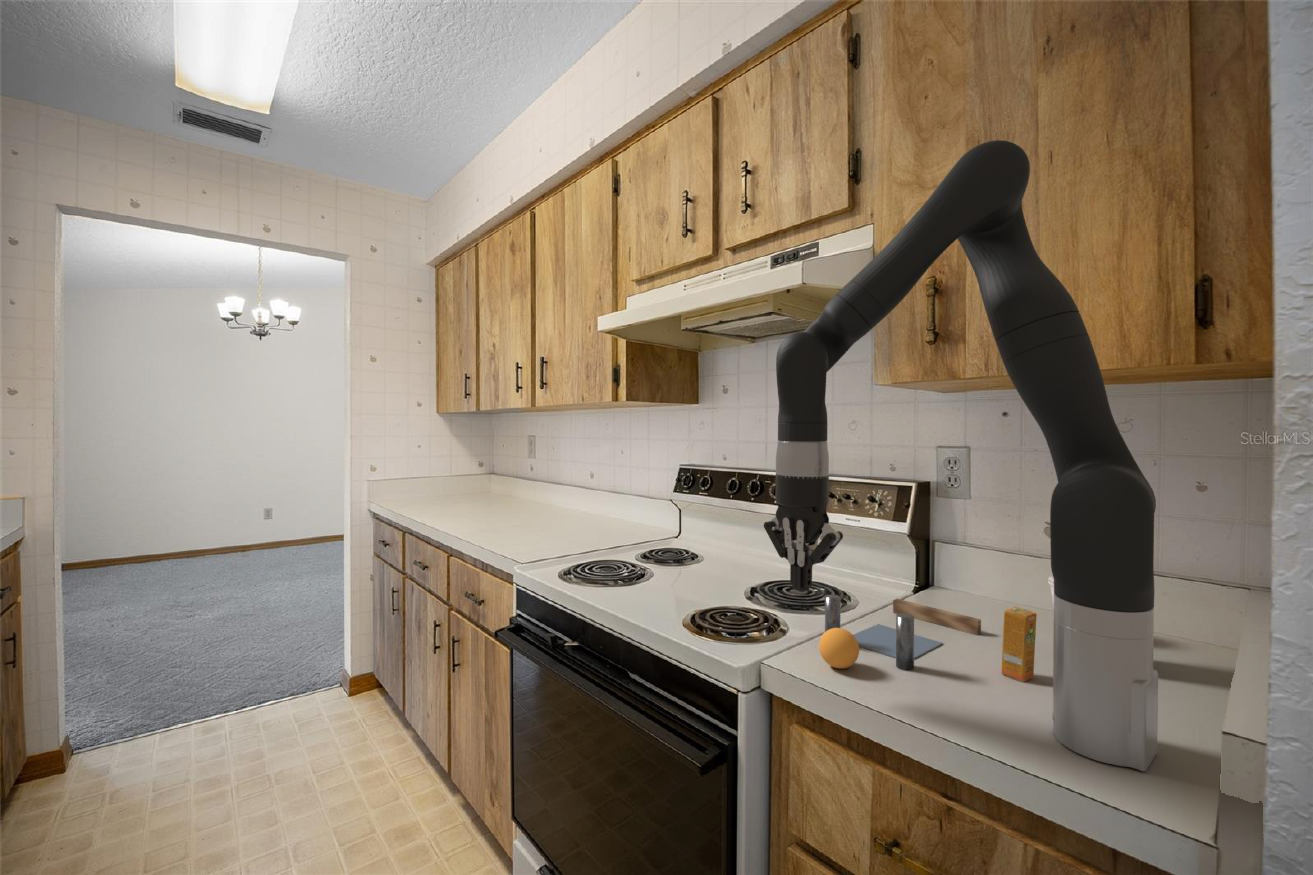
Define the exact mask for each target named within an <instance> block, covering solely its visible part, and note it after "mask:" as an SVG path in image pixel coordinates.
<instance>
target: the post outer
mask: <svg viewBox="0 0 1313 875" xmlns="http://www.w3.org/2000/svg"><path fill="white" fill-rule="evenodd" d="M832 628H841V596H840V595H837V594H826V595H824V633H825V632H826V631H827V630H829V629H832Z"/></svg>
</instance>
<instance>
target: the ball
mask: <svg viewBox="0 0 1313 875" xmlns="http://www.w3.org/2000/svg"><path fill="white" fill-rule="evenodd" d="M818 650H819V653H820V656H821V657H822V659H823V660H824V661H825V663H827V665H828V666H831V667H833V668H836V669H839V670H840V669H841V670H842V669H847V668H850V667H851V666H853V665H854V664H855V663H856V662H857V660H858V659H859V654H860V646H859V645H858V642H857V640H856V638H855V637H854V636H853V633H852V632H850V631H848V630H847V629H845V628H841V627H840V628H832V629H829V630H827V631H826V632H825V631H824V632H823V634H822V635H821V637H820V640H819V643H818Z"/></svg>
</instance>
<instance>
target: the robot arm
mask: <svg viewBox="0 0 1313 875" xmlns="http://www.w3.org/2000/svg"><path fill="white" fill-rule="evenodd" d="M1030 164H1031V163H1030V160H1029V156H1028V155H1027V153H1026V152H1025V150H1024V149H1023V148H1022V147H1021V146H1020V145H1018V144H1016V143H1015V142H1011V141H1008V140H1001V139H1000V140H999V139H996V140H990V141H986V142H983V143H981V144H978V145H976V146H974V147H972V148H971V149H970V150H968V151H967V152H965V153H964V154H963V155H961V157H960V158H959V159H958V160H957V161H956V163H955V164H954V165H953V166H952V168H951V169H950V170H949V172H948V173H947V174H946V176H944V177H943V179H942V181H941V182H939V184H938V185H937V187H936V188H935V190H934V191H933V192H932V193H931V195H930V196H929V197H928V198H927V200H925V202H924V203H923V204H922V206H921V207H920V208H919V209H918V211H916V213H914V215H913V216H912V218H910V220H908V222H907V223H906V224H905V225H904V226H903V227H902V228H901V230H899V232H898V233H896V235H895V236H894V237H893V238H892V239H891V240H890V241H889V243H887V244H886V246H884V247H883V248H882V250H881V251H880V252H879V253H877V255H876V256H875V257H874V258H873V259H872V260H870V262H869V263H867V264H866V265H865V266H864V267H863V268H861V270H860V271H859V272H858V273H857V274H856V275H855V276H853V277H852V279H850V281H848V282H847V283H846V284H845V285H844V286H843V287H842V288H841V289H840V290H839V291H838V292H837V293H836V294H835V295H833V297H832V298H831V299H830V300H829V301H828V302H827V303H826V305H825V306H824V307H823V309H822V312H821V313H820V315H819V316H818V317H817V318H816V319H815V320H814V321H813V322H812V323H811V324H809V326H807V327H806V329H805V330H804V331H798V332H794V333H792V334H789V335H788V336H787V337H785V338H784V339H783V340H782V342H781V343H780V344H779V347H778V348H777V352H776V357H775V358H776V360H775V370H776V371H775V372H776V386H777V397H778V415H777V446H776V452H775V453H776V454H775V495H774V496H775V500H774V501H775V502H776V504H777V509H776V510H775V517H774V518H772V519H771V520H769V521H765V522H763V528H764V530H765V532H766V534H767V535H768V538H769V539H770V541H771V544H772V545H773V547H774V548H775V550H776V552H777V554H778V556H779V557H780V558H781V559H786V560H787V562H788V564H790V565H789V566H790V570H789V572H790V574H789V577H790V579H789V580H790V581H789V582H790V585H791V586H792V588H791V589H792V590H794V591H798V592H800V593H803V592H808V591H809V590H810V588H812V585H813V566H814V565H818V564H821V563H824V562H825V561H826V559H828V557H829V556H830V555H831V553H832V552H833V550H834V549H835V548H836V547H837V546H838V545H839V544H840V542H841V541H842V540H843V538H844V535H843V534H844V533H843V532H842V531H840V530H839V531H838V530H837V531H836V530H835V529H834V528H833V527H832V526H831V524H829V523H830V517H829V515H828V512H827V507H828V506H829V505H828V504H829V501H830V500H829V497H830V496H829V492H830V490H829V487H830V486H829V485H830V484H829V483H830V482H829V481H830V478H829V477H830V476H829V475H830V474H829V473H830V468H829V467H830V454H829V449H828V448H829V447H828V425H829V424H828V411H827V405H826V391H827V390H826V389H827V388H826V387H827V373H828V372H829V371H830V370H831V369H832V368H833V367H834V366H835V365H836V364H837V363H838V362H839V360H841V358H842V357H843V356H844V355H845V354H847V352H848V351H849V350H850V349H851V348H852V347H853V346H854V345H855V344H856V343H857V342H858V341H859V340H861V338H863V337H865V336H866V335H867V334H868V333H869V332H870V331H871V330H873V329H874V327H876V326H877V325H878V324H879V323H880V322H881V321H882V320H883V319H884V318H885V317H887V316H888V315H889V314H890V313H891V312H892V311H893V310H894V309H895V308H896V307H897V306H898V305H899V304H900V303H901V302H902V301H903V300H904V299H905V297H906V296H908V294H909V293H910V292H911V291H912V289H913V288H914V287H915V286H916V285H917V283H918V282H919V281H920V279H922V277H923V275H925V273H926V272H927V271H928V269H930V267H931V266H932V265H933V264H934V263H935V262H936V260H938V258H940V256H941V255H942V254H943V253H944V252H945V251H946V250H947V249H948V248H949V247H950V246H951V245H952V244H954V242H955V241H957V240H958V242H959V243H960V246H961V247H962V250H963V252H964V254H965V256H966V258H967V259H968V262H969V264H970V265H971V268H972V270H973V272H974V275H975V277H976V280H977V283H978V286H979V291H980V295H981V300H982V303H983V306H984V309H985V312H986V316H987V320H988V322H989V325H990V326H989V327H990V329H991V333H992V336H993V339H994V342H995V344H996V347H997V350H998V353H999V355H1000V357H1001V360H1002V363H1003V366H1004V368H1005V371H1006V373H1007V375H1008V377H1009V379H1010V380H1011V383H1012V384H1013V387H1015V388H1014V389H1016V392H1017V394H1018V395H1019V396H1020V398H1021V400H1022V402H1023V403H1024V405H1025V406H1026V408H1027V409H1028V410H1029V412H1030V414H1031V415H1032V417H1033V419H1034V420H1035V422H1036V423H1037V425H1038V427H1039V429H1040V430H1041V432H1042V434H1043V437H1044V439H1045V441H1046V444H1047V446H1048V449H1049V453H1050V457H1051V459H1052V463H1053V466H1054V471H1055V474H1056V480H1057V483H1056V486H1055V487H1054V489H1053V491H1052V494H1051V499H1050V500H1051V501H1050V510H1049V511H1050V513H1049V514H1050V519H1049V523H1050V524H1049V525H1050V526H1049V527H1050V529H1049V530H1050V531H1049V532H1050V569H1051V574H1052V576H1053V578H1054V608H1053V645H1052V646H1053V647H1052V648H1053V654H1052V656H1053V657H1052V658H1053V662H1052V663H1053V665H1052V666H1053V667H1052V669H1053V670H1052V672H1053V674H1052V680H1053V681H1052V682H1053V683H1052V731H1053V735H1054V738H1056V740H1057V741H1058V742H1059V743H1060V744H1062V745H1063V746H1064V747H1066V748H1068V749H1069V750H1071V751H1073V752H1074V753H1076V754H1078V755H1081V756H1084V757H1086V758H1089V759H1091V760H1094V761H1096V762H1097V761H1098V762H1101V763H1105V764H1109V765H1113V766H1119V767H1127V768H1131V769H1136V770H1139V771H1141V772H1146V771H1147V769H1148V767H1149V766H1150V764H1151V763H1152V761H1153V760H1154V758H1155V757H1156V755H1157V753H1158V727H1159V726H1158V722H1159V721H1158V719H1159V716H1158V715H1159V713H1158V712H1159V673H1158V671H1157V670H1156V669H1154V628H1155V625H1154V621H1155V620H1154V618H1155V611H1154V610H1155V608H1154V607H1155V574H1154V573H1155V572H1154V566H1155V565H1154V561H1155V560H1154V558H1155V556H1154V554H1155V553H1154V552H1155V549H1154V548H1155V546H1154V545H1155V544H1154V541H1155V513H1156V508H1157V502H1156V501H1157V500H1156V495H1155V491H1154V489H1153V487H1152V486H1151V484H1150V482H1149V481H1148V480H1147V478H1146V477H1145V475H1144V474H1143V471H1142V470H1141V468H1140V467H1139V465H1138V464H1137V461H1136V460H1135V458H1134V457H1133V455H1132V452H1131V451H1130V449H1129V447H1128V445H1127V443H1126V441H1125V440H1124V438H1123V436H1122V434H1121V432H1120V430H1119V428H1118V425H1117V424H1116V421H1115V418H1114V415H1113V414H1112V409H1111V406H1110V402H1109V400H1108V395H1107V391H1106V386H1105V383H1104V379H1103V374H1102V371H1101V368H1100V365H1099V361H1098V359H1097V355H1096V352H1095V350H1094V347H1093V344H1092V340H1091V337H1090V334H1089V332H1088V330H1087V328H1086V325H1085V323H1084V321H1083V318H1082V316H1081V313H1080V310H1079V309H1078V306H1077V304H1076V303H1075V300H1074V299H1073V297H1072V296H1071V294H1070V292H1069V291H1068V290H1067V289H1066V287H1065V286H1064V284H1063V283H1062V282H1061V281H1060V279H1059V278H1058V277H1057V276H1056V275H1055V274H1054V273H1053V272H1052V271H1051V269H1049V267H1047V265H1046V264H1045V263H1044V262H1043V260H1042V259H1041V257H1040V256H1039V255H1038V253H1037V250H1036V249H1035V246H1034V244H1033V242H1032V240H1031V235H1030V232H1029V229H1028V226H1027V223H1026V219H1025V215H1024V210H1023V205H1022V204H1023V198H1024V196H1025V193H1026V190H1027V187H1028V185H1029V179H1030V175H1031V174H1030V173H1031V166H1030ZM819 539H820V542H819Z"/></svg>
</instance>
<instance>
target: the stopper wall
mask: <svg viewBox="0 0 1313 875" xmlns="http://www.w3.org/2000/svg"><path fill="white" fill-rule="evenodd" d="M892 613H893V614H894V613H895V614H896V615H897V614H909V615H912V616H914V619H916V620H920V621H924V622H928V623H931V624H934V623H936V624H935V625H939V626H942V627H945V628H949V627H950V629H954V630H958V631H961V632H966V633H969V634H971V635H972V634H973V635H977V636H979V635H981V634H982V619H980V618H976V617H972V616H969V615H964V614H960V613H956V612H952V611H949V610H943V609H939V608H936V607H933V606H928V605H924V604H919V603H915V602H911V601H907V600H904V599H900V598H896V599H893V600H892Z"/></svg>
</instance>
